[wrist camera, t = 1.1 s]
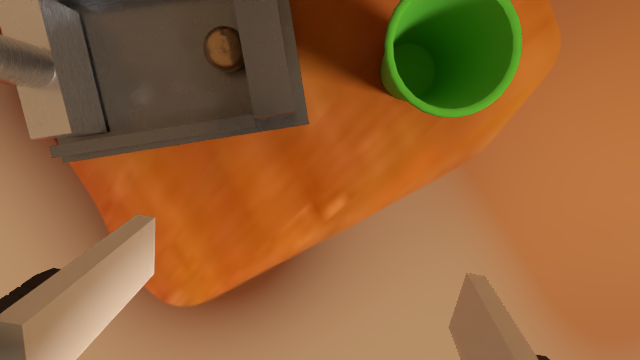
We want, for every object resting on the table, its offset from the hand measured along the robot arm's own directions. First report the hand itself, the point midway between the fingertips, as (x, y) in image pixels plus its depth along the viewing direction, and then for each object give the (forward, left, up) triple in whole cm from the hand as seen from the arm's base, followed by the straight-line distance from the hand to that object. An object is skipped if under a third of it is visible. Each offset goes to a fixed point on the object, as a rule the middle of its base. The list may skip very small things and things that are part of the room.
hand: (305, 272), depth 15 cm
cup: (-15, +1, -20) cm, 25 cm away
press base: (-3, -16, -20) cm, 26 cm away
